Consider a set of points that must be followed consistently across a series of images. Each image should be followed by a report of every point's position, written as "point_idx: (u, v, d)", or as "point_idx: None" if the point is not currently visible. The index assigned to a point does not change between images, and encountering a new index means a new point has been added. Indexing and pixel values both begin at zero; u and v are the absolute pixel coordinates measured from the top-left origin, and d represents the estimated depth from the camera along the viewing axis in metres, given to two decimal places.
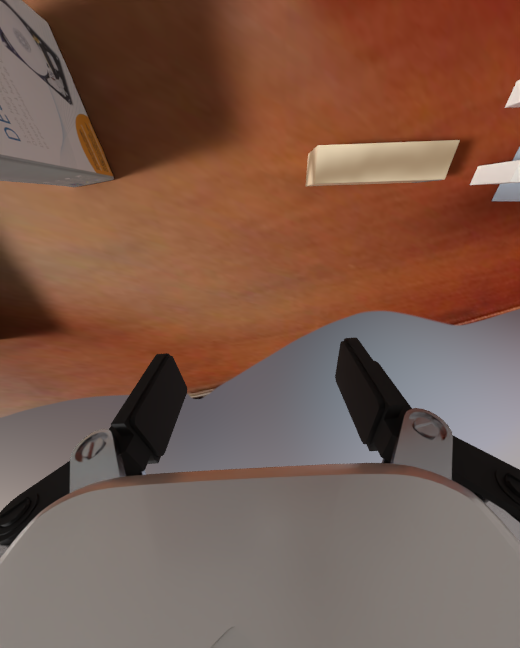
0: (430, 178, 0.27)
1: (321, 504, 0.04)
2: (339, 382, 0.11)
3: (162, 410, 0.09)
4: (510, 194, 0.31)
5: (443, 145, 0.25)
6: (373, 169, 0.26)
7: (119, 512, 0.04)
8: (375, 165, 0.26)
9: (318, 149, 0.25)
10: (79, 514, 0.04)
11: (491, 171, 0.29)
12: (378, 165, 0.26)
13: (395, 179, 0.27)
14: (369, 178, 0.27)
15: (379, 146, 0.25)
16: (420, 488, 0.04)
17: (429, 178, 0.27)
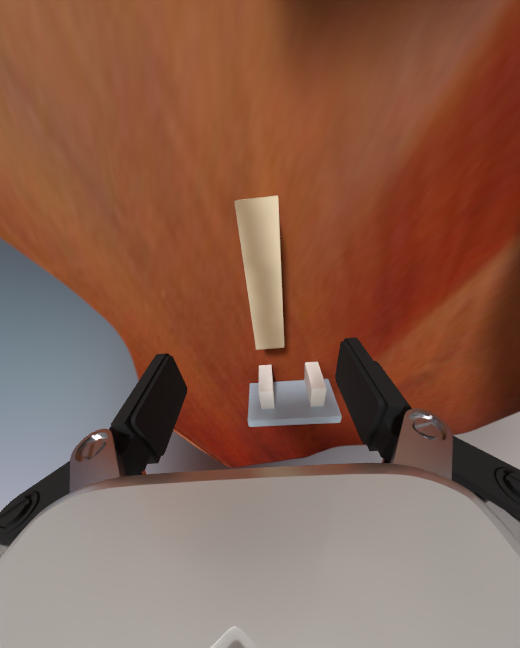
0: (255, 338, 0.27)
1: (321, 504, 0.04)
2: (339, 382, 0.11)
3: (162, 410, 0.09)
4: (254, 393, 0.38)
5: (280, 337, 0.26)
6: (258, 280, 0.22)
7: (119, 512, 0.04)
8: (262, 281, 0.22)
9: (273, 197, 0.18)
10: (79, 514, 0.04)
11: (267, 375, 0.35)
12: (262, 285, 0.22)
13: (251, 307, 0.24)
14: (249, 278, 0.22)
15: (279, 280, 0.22)
16: (420, 488, 0.04)
17: (255, 337, 0.26)
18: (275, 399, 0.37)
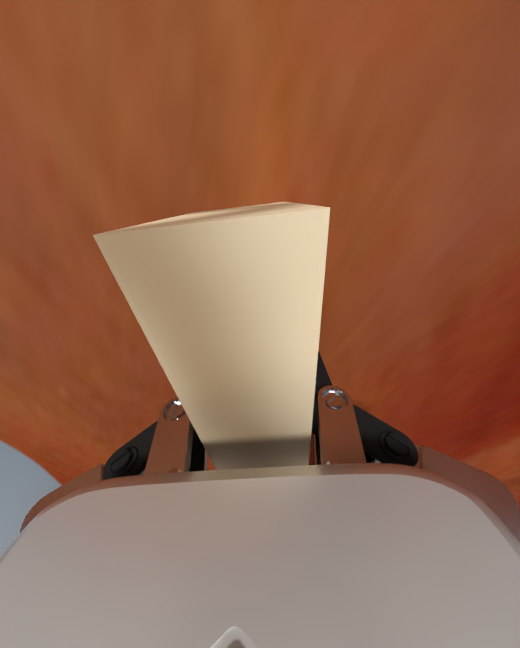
0: None
1: (321, 504, 0.04)
2: None
3: None
4: None
5: None
6: (242, 449, 0.07)
7: (119, 512, 0.04)
8: (252, 451, 0.08)
9: (304, 218, 0.03)
10: (79, 514, 0.04)
11: None
12: (253, 456, 0.08)
13: None
14: (214, 447, 0.07)
15: (302, 448, 0.07)
16: (420, 488, 0.04)
17: None
18: None
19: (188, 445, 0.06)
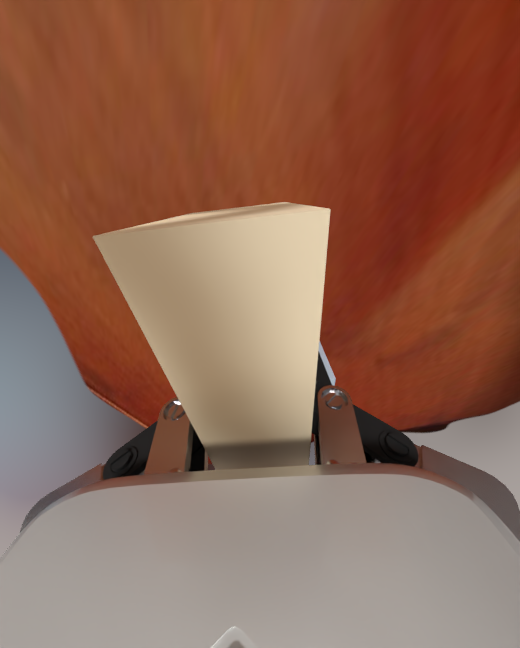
0: None
1: (322, 504, 0.04)
2: None
3: None
4: None
5: None
6: (242, 450, 0.07)
7: (119, 512, 0.04)
8: (252, 451, 0.08)
9: (305, 219, 0.03)
10: (79, 514, 0.04)
11: None
12: (253, 456, 0.08)
13: None
14: (215, 448, 0.07)
15: (302, 448, 0.07)
16: (420, 488, 0.04)
17: None
18: None
19: (188, 445, 0.06)
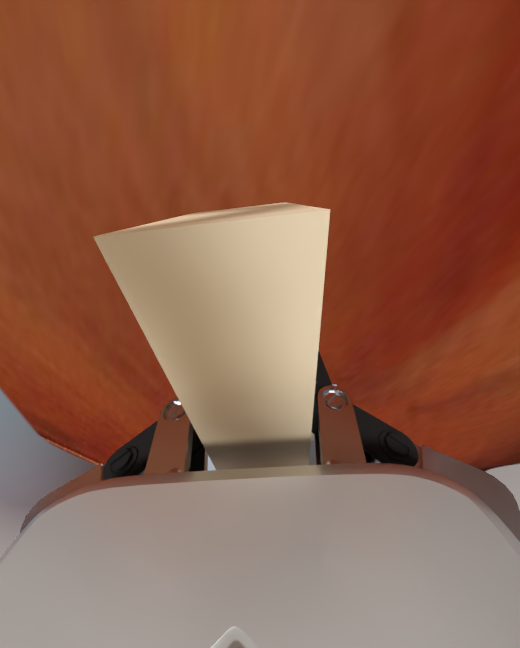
0: None
1: (322, 504, 0.04)
2: None
3: None
4: None
5: None
6: (242, 450, 0.07)
7: (119, 512, 0.04)
8: (252, 451, 0.08)
9: (305, 220, 0.03)
10: (79, 514, 0.04)
11: None
12: (253, 456, 0.08)
13: None
14: (215, 448, 0.07)
15: (302, 448, 0.07)
16: (420, 488, 0.04)
17: None
18: None
19: (188, 445, 0.06)
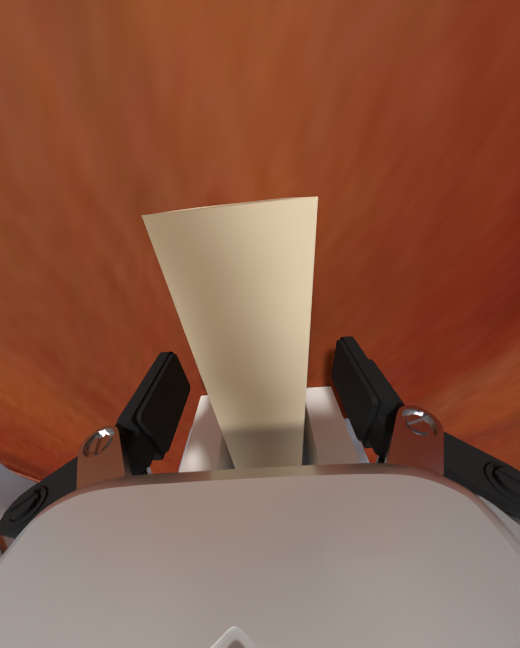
0: None
1: (322, 504, 0.04)
2: (335, 380, 0.11)
3: (166, 407, 0.09)
4: None
5: None
6: (246, 411, 0.09)
7: (119, 512, 0.04)
8: (255, 413, 0.09)
9: (299, 204, 0.04)
10: (79, 514, 0.04)
11: (212, 424, 0.15)
12: (255, 419, 0.09)
13: (231, 450, 0.10)
14: (222, 409, 0.08)
15: (298, 411, 0.09)
16: (420, 488, 0.04)
17: None
18: None
19: (125, 467, 0.06)
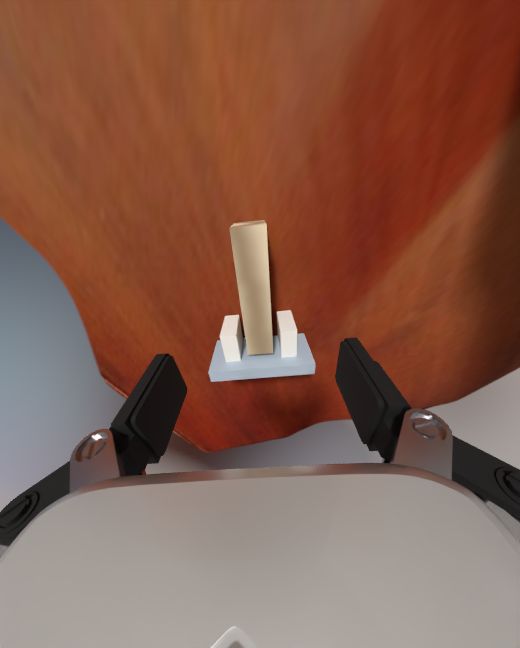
0: (247, 344, 0.29)
1: (321, 504, 0.04)
2: (339, 382, 0.11)
3: (162, 410, 0.09)
4: (220, 348, 0.34)
5: (269, 344, 0.29)
6: (249, 293, 0.25)
7: (119, 512, 0.04)
8: (253, 294, 0.25)
9: (262, 225, 0.21)
10: (79, 514, 0.04)
11: (232, 323, 0.31)
12: (253, 297, 0.25)
13: (243, 317, 0.27)
14: (241, 292, 0.25)
15: (267, 293, 0.25)
16: (420, 488, 0.04)
17: (247, 344, 0.29)
18: (243, 352, 0.32)
19: (120, 470, 0.06)
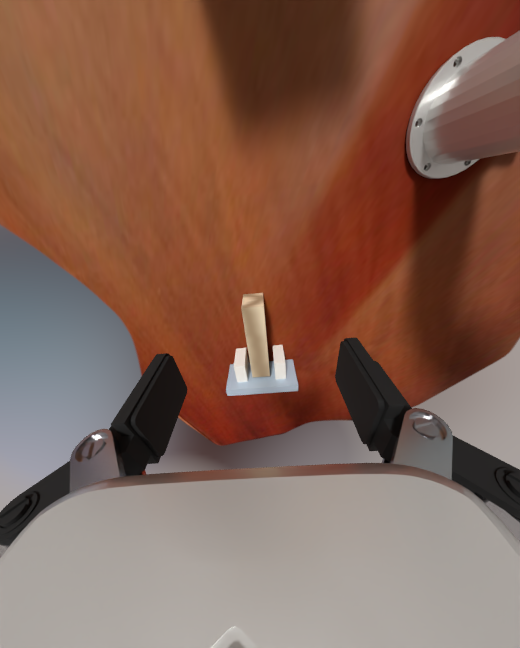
0: (252, 371, 0.43)
1: (321, 504, 0.04)
2: (339, 382, 0.11)
3: (162, 410, 0.09)
4: (232, 371, 0.48)
5: (267, 370, 0.43)
6: (253, 341, 0.39)
7: (119, 512, 0.04)
8: (255, 342, 0.39)
9: (261, 307, 0.34)
10: (79, 514, 0.04)
11: (241, 355, 0.45)
12: (255, 344, 0.39)
13: (249, 355, 0.40)
14: (248, 341, 0.38)
15: (265, 341, 0.39)
16: (420, 488, 0.04)
17: (252, 370, 0.43)
18: (249, 375, 0.46)
19: (120, 470, 0.06)
